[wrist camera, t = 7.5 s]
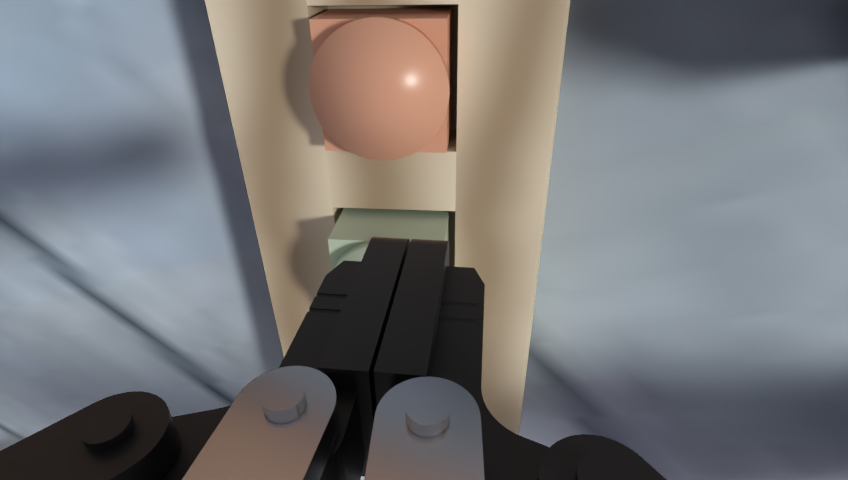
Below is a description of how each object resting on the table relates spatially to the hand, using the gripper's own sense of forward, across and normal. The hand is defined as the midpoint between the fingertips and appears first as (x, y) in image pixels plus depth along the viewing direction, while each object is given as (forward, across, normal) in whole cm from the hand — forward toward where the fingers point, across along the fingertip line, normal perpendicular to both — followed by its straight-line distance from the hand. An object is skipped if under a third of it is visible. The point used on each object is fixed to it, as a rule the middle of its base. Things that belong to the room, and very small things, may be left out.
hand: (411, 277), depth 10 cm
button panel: (+13, +2, +6) cm, 14 cm away
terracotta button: (+11, +2, -1) cm, 12 cm away
